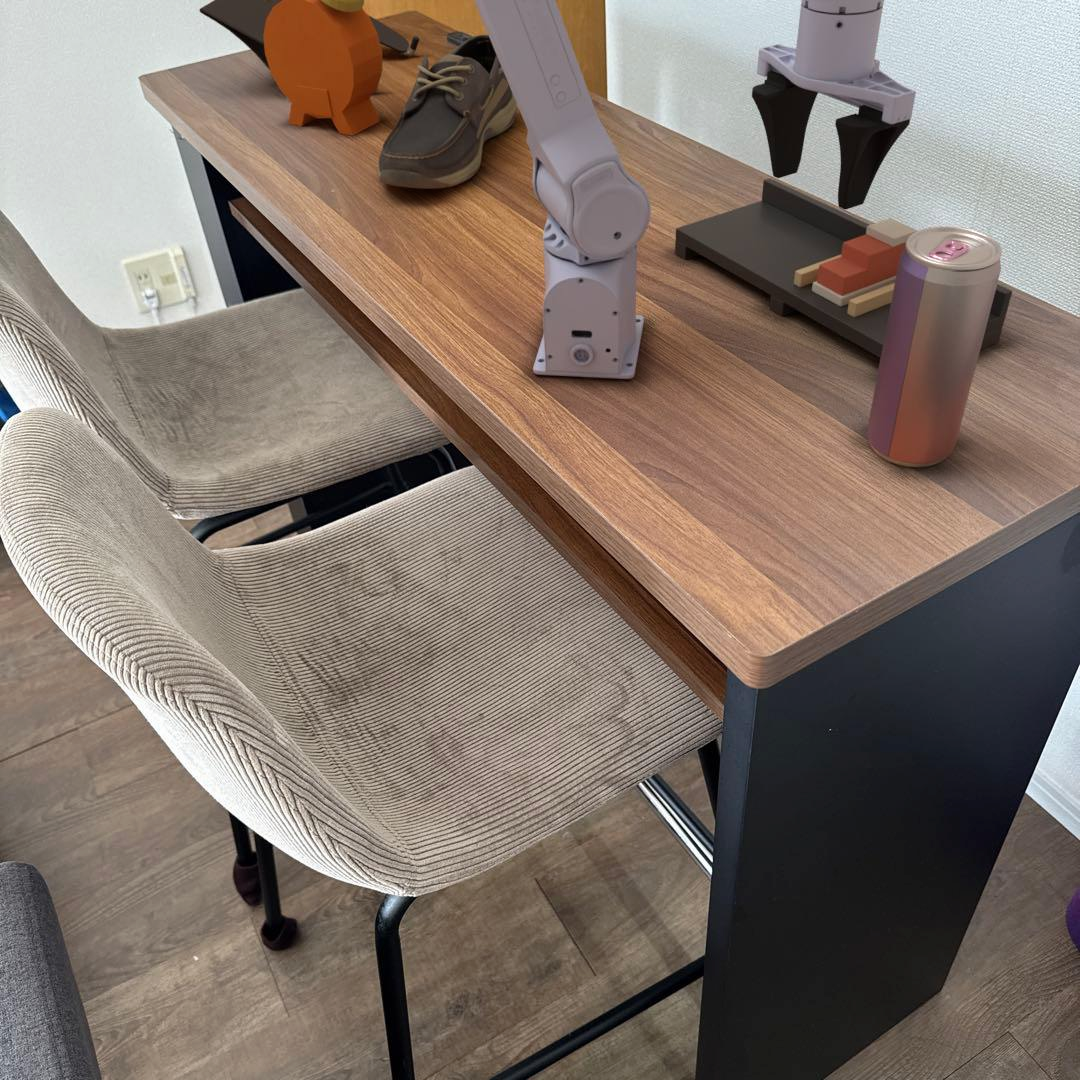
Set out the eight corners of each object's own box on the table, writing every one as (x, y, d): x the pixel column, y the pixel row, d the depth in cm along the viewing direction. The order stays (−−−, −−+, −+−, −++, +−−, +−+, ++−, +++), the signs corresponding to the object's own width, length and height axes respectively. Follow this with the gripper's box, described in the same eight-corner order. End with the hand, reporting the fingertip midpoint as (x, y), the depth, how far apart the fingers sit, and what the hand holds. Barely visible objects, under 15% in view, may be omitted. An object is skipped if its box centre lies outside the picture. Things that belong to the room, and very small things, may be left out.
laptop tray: (351, 147, 139) (371, 83, 133) (189, 61, 137) (202, -9, 130) (407, 90, 156) (427, 30, 150) (264, 11, 153) (279, -52, 147)
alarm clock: (393, 121, 129) (369, -64, 116) (362, 138, 125) (333, -52, 112) (309, 106, 135) (277, -72, 122) (277, 122, 131) (240, -61, 118)
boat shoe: (355, 203, 111) (338, 98, 104) (441, 108, 132) (431, 15, 125) (455, 209, 108) (444, 102, 101) (525, 111, 130) (520, 17, 123)
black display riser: (998, 342, 84) (1013, 290, 81) (899, 385, 80) (910, 333, 77) (765, 223, 103) (769, 177, 100) (674, 253, 99) (676, 207, 96)
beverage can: (848, 447, 75) (883, 248, 65) (894, 412, 78) (934, 216, 68) (925, 482, 71) (974, 277, 61) (969, 443, 74) (1023, 242, 64)
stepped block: (882, 264, 90) (890, 216, 87) (912, 279, 88) (922, 230, 85) (811, 291, 87) (817, 241, 84) (840, 307, 85) (848, 257, 82)
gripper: (960, 15, 72) (922, 207, 81) (814, -25, 82) (793, 150, 91) (885, 34, 70) (853, 230, 78) (742, -9, 79) (729, 170, 88)
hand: (817, 189), depth 84 cm, fingers open, 7 cm apart
